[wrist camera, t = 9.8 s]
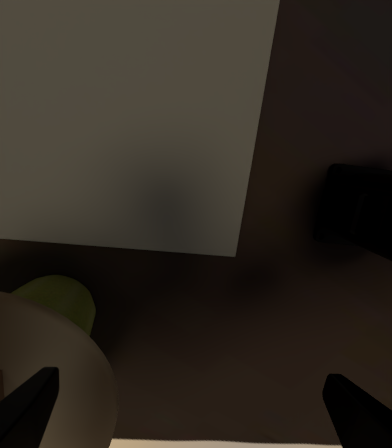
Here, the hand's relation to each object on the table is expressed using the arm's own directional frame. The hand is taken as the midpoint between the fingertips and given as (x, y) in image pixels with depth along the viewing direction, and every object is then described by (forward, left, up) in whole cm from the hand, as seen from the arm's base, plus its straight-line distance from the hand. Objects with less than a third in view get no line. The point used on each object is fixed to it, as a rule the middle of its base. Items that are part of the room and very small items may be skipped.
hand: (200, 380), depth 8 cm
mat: (+5, -9, -13) cm, 16 cm away
